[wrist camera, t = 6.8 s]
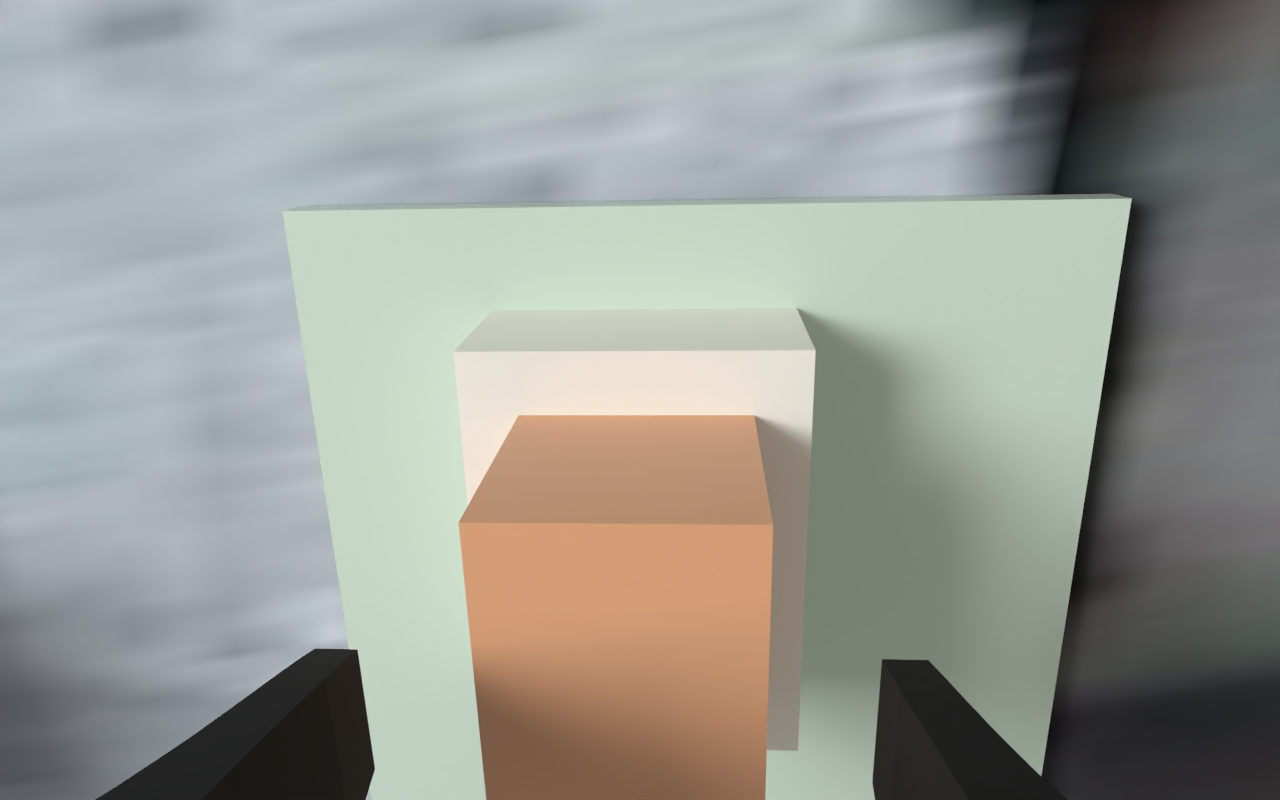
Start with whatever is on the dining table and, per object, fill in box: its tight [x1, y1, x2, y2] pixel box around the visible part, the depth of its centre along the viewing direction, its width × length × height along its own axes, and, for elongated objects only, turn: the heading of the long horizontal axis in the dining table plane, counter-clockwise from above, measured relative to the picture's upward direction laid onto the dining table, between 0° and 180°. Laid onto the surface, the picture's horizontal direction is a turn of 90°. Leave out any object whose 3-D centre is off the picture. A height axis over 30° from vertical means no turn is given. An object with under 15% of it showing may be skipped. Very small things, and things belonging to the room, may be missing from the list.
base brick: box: [453, 308, 816, 751], centre depth 17 cm, size 8×6×3 cm
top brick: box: [458, 415, 773, 800], centre depth 14 cm, size 6×4×4 cm, turn 1°
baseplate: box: [282, 194, 1132, 800], centre depth 21 cm, size 22×16×1 cm
